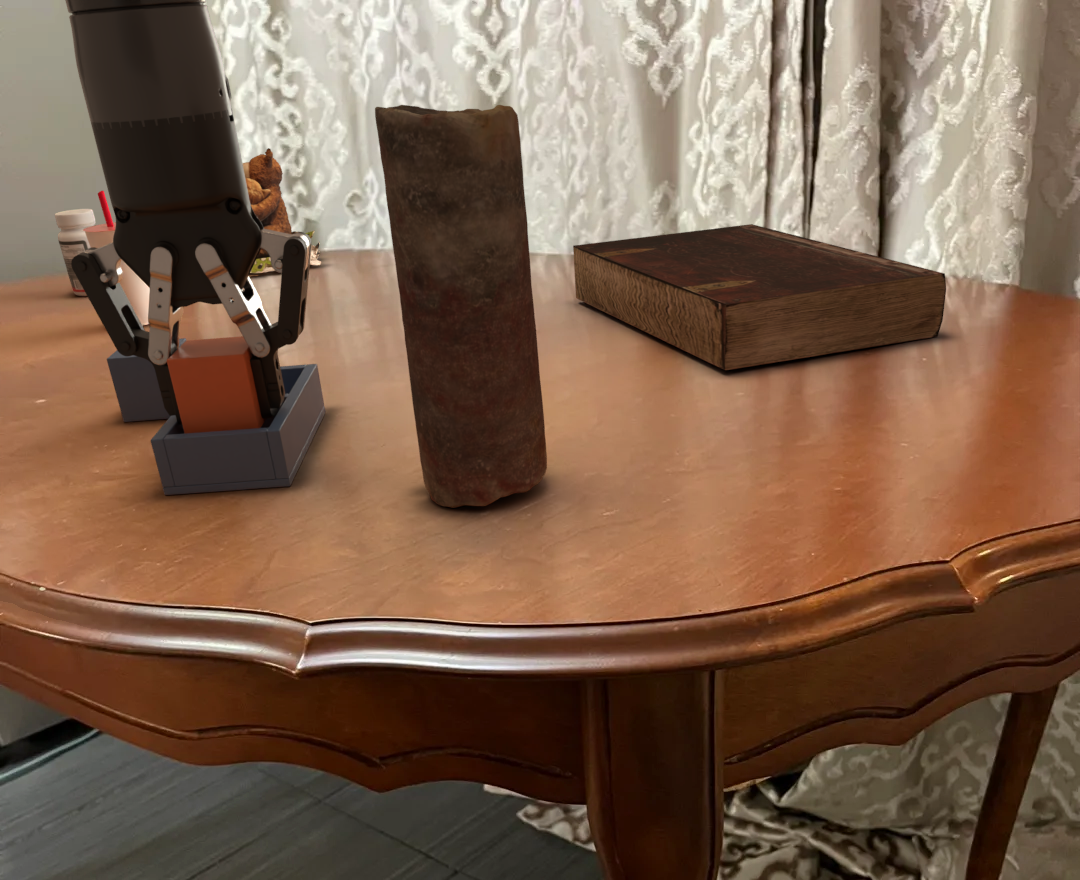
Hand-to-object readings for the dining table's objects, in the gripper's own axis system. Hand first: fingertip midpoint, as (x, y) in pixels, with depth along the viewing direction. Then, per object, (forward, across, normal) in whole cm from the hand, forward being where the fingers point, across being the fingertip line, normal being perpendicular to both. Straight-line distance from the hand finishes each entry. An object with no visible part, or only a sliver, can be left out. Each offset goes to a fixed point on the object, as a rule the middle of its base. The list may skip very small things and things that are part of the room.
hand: (229, 416), depth 70 cm
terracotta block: (0, 0, 0) cm, 0 cm away
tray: (+3, 0, +4) cm, 5 cm away
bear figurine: (+4, -13, +72) cm, 73 cm away
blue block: (+3, -9, +14) cm, 17 cm away
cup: (+4, -20, +46) cm, 50 cm away
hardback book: (+4, +37, +30) cm, 47 cm away
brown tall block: (+4, +16, -6) cm, 18 cm away
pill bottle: (+4, -30, +64) cm, 70 cm away
